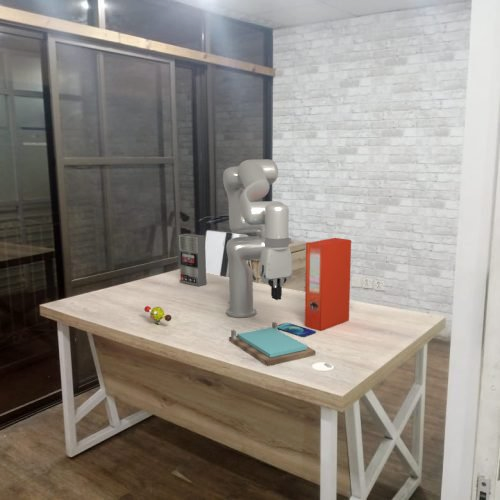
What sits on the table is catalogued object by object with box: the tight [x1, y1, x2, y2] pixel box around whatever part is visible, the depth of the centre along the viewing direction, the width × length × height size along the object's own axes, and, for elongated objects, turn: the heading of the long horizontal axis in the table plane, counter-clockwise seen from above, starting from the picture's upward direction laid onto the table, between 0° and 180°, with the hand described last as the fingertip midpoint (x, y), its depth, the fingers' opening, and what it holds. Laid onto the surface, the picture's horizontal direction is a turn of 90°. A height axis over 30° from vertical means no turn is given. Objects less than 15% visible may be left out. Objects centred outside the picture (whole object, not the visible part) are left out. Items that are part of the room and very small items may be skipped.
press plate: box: [236, 326, 308, 358], centre depth 175 cm, size 23×14×1 cm, turn 29°
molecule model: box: [144, 305, 172, 326], centre depth 202 cm, size 18×6×7 cm, turn 40°
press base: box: [228, 321, 316, 367], centre depth 175 cm, size 26×18×4 cm
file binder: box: [304, 237, 352, 332], centre depth 197 cm, size 8×17×32 cm, turn 134°
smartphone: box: [277, 322, 317, 338], centre depth 193 cm, size 8×1×15 cm
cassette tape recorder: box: [178, 233, 208, 287], centre depth 265 cm, size 14×6×25 cm, turn 50°
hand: (276, 298), depth 169 cm, fingers closed
